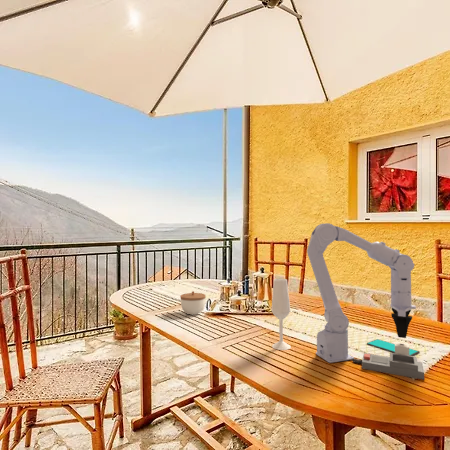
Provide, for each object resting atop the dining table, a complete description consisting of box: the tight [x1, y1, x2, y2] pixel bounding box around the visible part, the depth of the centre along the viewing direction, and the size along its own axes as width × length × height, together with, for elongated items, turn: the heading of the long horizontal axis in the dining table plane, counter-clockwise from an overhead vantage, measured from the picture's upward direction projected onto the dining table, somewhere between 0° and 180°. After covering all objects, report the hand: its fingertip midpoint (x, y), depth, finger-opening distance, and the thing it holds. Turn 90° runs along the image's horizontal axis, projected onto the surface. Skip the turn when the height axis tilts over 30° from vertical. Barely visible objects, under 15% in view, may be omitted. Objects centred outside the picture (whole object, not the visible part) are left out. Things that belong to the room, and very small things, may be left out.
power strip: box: [352, 352, 425, 381], centre depth 97 cm, size 19×8×4 cm, turn 62°
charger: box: [394, 341, 410, 355], centre depth 103 cm, size 4×4×5 cm
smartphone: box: [366, 338, 420, 356], centre depth 113 cm, size 7×1×15 cm
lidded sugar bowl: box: [180, 290, 207, 315], centre depth 162 cm, size 13×13×11 cm
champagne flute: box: [271, 278, 291, 351], centre depth 116 cm, size 7×7×24 cm
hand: (401, 333), depth 103 cm, fingers open, 7 cm apart
